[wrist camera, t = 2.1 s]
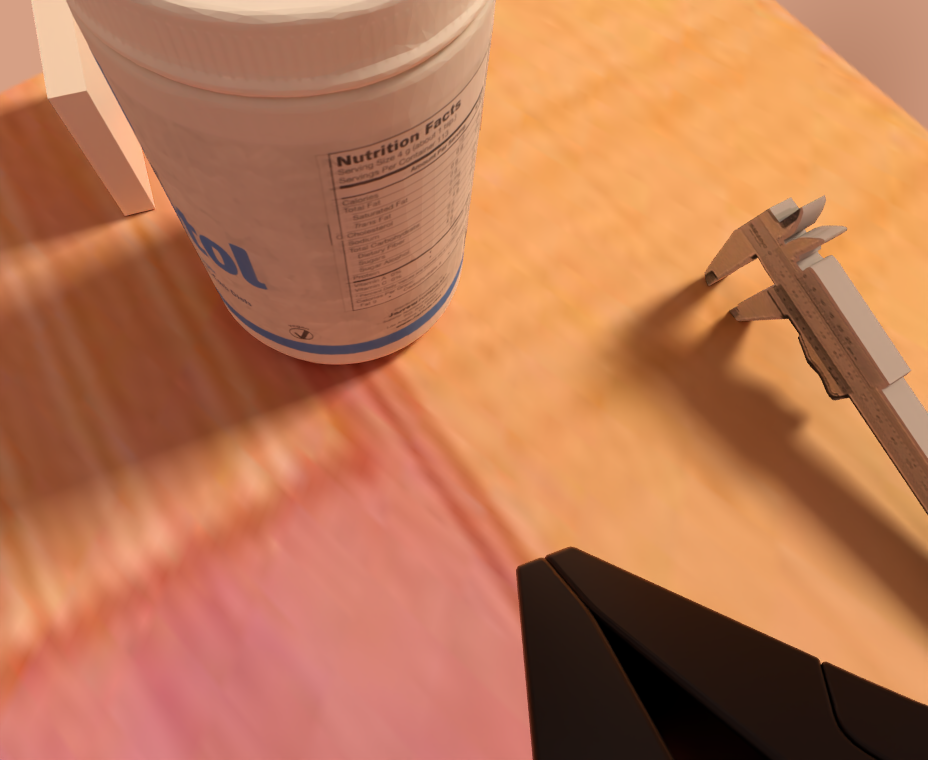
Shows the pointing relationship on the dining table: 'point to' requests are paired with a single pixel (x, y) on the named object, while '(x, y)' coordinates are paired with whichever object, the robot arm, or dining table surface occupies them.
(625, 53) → the dining table surface
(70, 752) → the dining table surface
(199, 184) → the supplement tub
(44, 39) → the cradle
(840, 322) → the caliper
